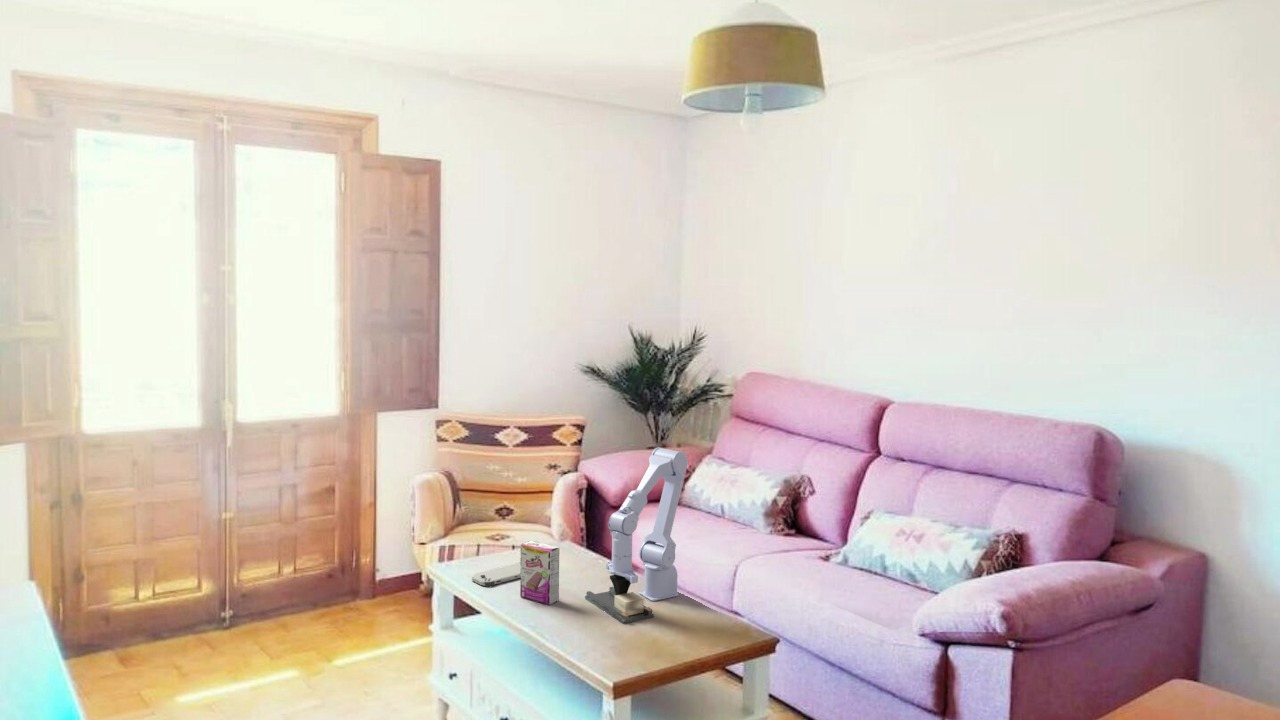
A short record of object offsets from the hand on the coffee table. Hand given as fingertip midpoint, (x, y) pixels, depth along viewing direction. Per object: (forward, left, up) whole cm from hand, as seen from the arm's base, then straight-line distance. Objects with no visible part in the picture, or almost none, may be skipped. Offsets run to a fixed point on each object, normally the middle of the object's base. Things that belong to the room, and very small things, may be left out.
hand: (621, 600), depth 258 cm
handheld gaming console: (+17, -42, -3) cm, 45 cm away
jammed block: (0, +4, -2) cm, 5 cm away
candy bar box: (+17, -18, -3) cm, 25 cm away
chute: (0, -1, -3) cm, 3 cm away
